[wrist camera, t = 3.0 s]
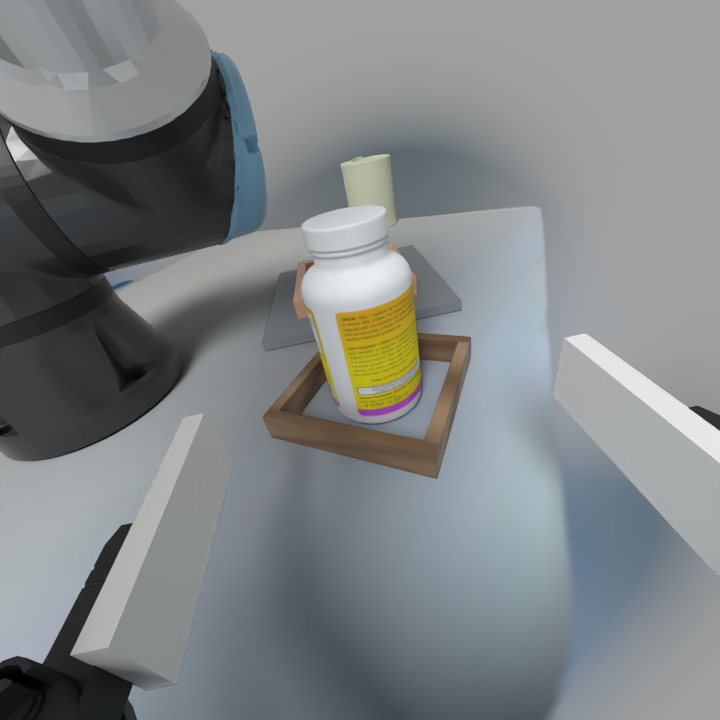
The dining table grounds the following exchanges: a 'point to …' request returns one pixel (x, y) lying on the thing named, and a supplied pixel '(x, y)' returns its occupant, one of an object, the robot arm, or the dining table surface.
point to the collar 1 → (303, 269)
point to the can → (370, 183)
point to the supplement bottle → (362, 314)
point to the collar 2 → (371, 443)
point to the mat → (292, 331)
